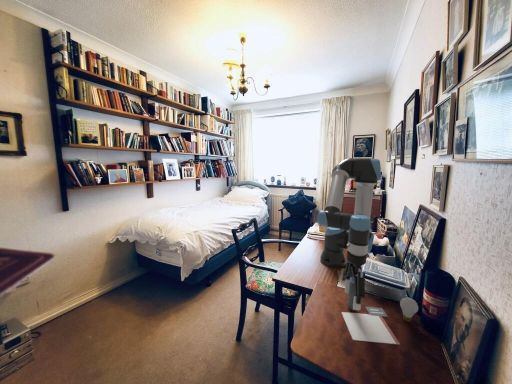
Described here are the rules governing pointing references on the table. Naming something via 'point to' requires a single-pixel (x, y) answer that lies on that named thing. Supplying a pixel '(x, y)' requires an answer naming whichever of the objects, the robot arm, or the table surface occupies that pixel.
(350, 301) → the marker
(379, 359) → the table surface
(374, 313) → the word card
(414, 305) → the light bulb
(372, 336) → the notepad
